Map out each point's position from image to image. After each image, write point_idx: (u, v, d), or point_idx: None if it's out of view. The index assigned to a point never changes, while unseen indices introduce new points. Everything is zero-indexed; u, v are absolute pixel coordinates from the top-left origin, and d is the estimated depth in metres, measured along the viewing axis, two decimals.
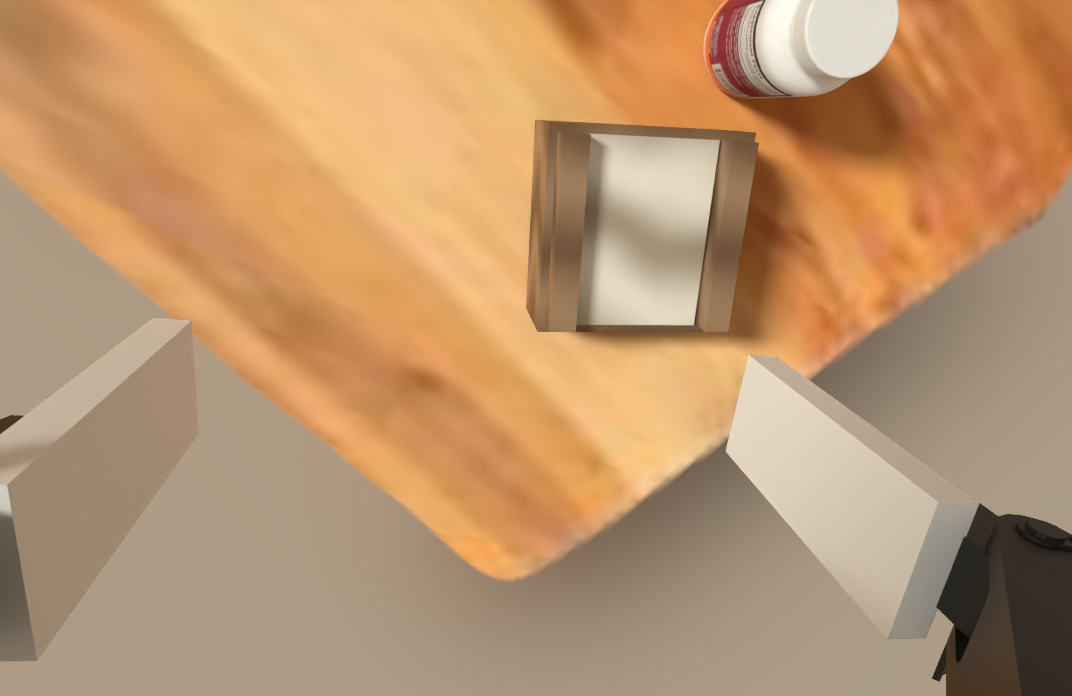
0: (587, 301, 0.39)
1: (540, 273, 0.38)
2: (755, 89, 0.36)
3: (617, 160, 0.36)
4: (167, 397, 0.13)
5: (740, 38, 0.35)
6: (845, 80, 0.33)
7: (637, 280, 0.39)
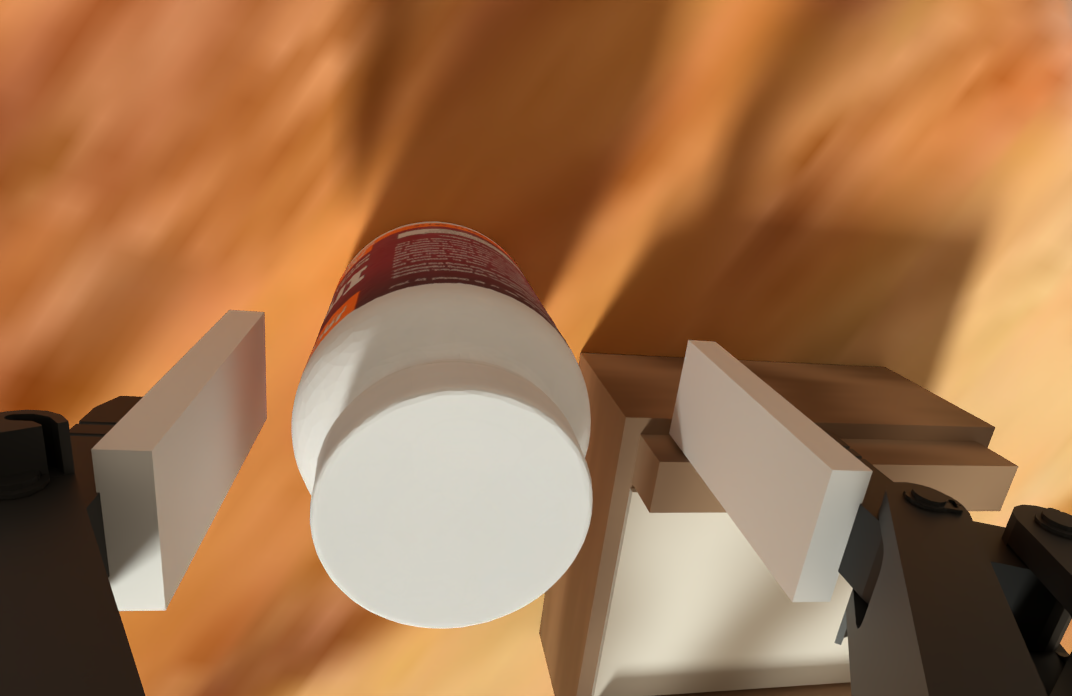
0: None
1: None
2: None
3: (642, 654, 0.20)
4: (248, 382, 0.14)
5: None
6: (567, 370, 0.13)
7: None
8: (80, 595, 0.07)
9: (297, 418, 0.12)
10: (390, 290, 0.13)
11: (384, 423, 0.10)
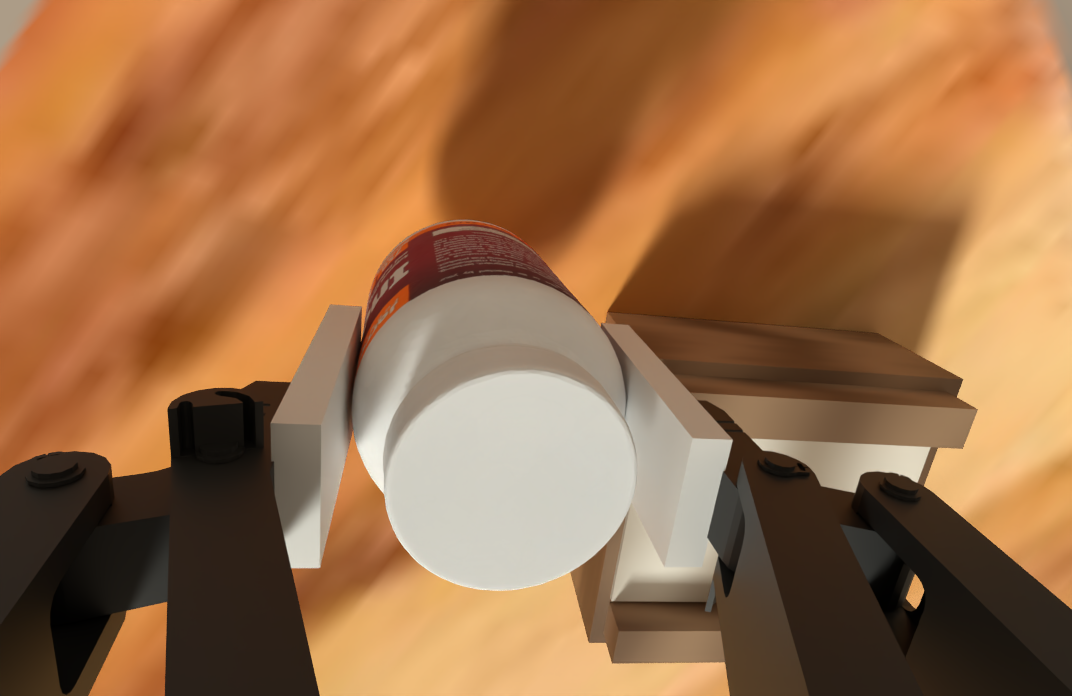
0: None
1: None
2: None
3: (653, 563, 0.24)
4: (353, 370, 0.15)
5: None
6: (606, 354, 0.14)
7: None
8: (263, 554, 0.07)
9: (359, 402, 0.13)
10: (441, 282, 0.14)
11: (453, 401, 0.11)
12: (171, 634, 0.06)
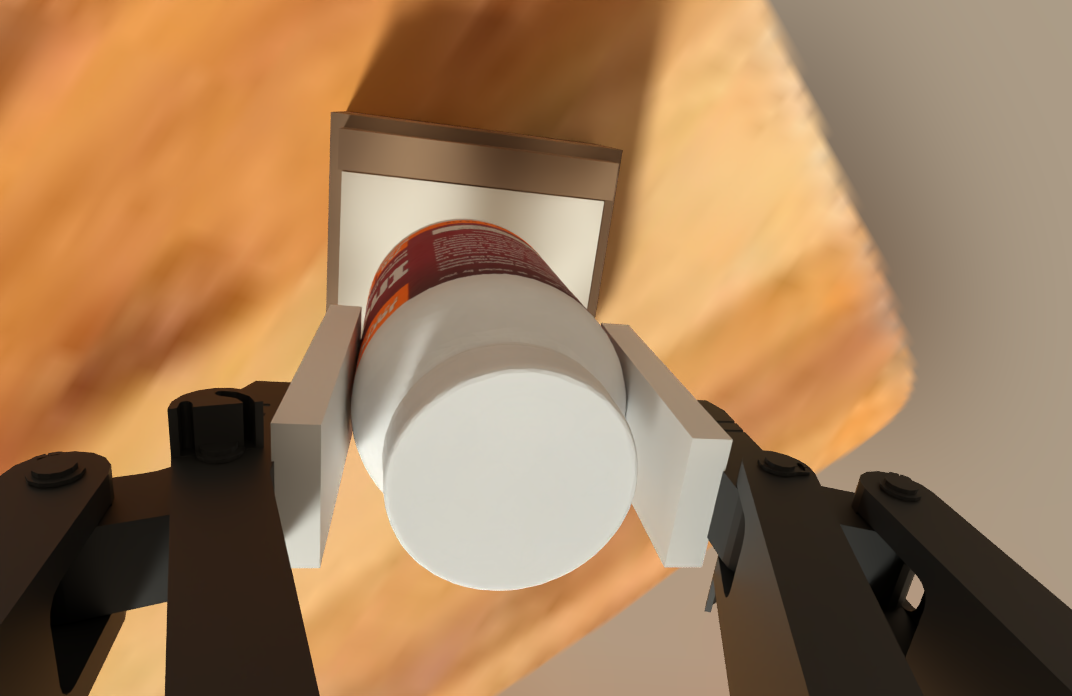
0: None
1: None
2: None
3: None
4: (353, 370, 0.15)
5: None
6: (606, 353, 0.14)
7: None
8: (263, 554, 0.07)
9: (358, 401, 0.13)
10: (441, 281, 0.14)
11: (453, 399, 0.11)
12: (171, 634, 0.06)
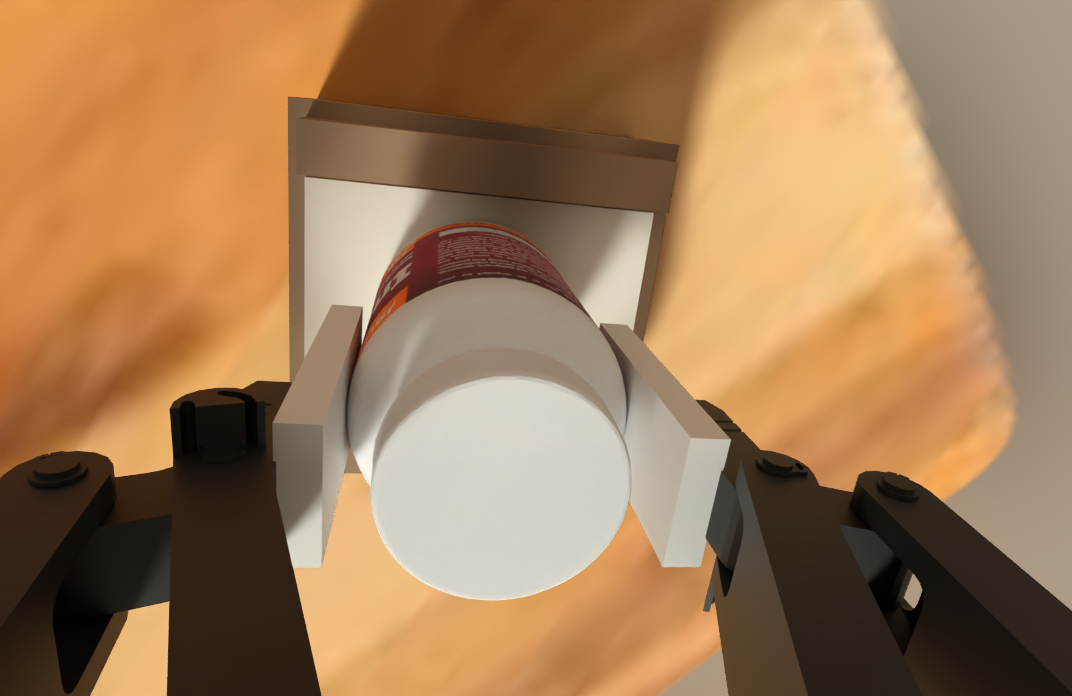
0: None
1: None
2: None
3: None
4: None
5: None
6: (605, 359, 0.14)
7: None
8: (265, 553, 0.07)
9: (353, 404, 0.13)
10: (438, 284, 0.14)
11: (440, 406, 0.11)
12: (173, 634, 0.06)
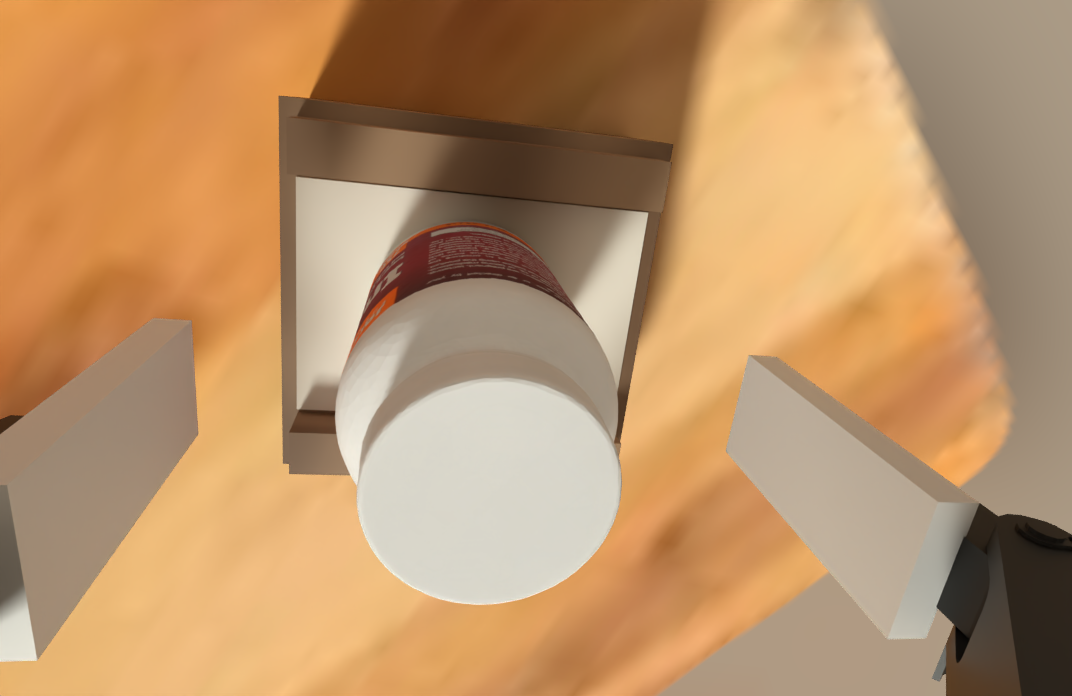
0: None
1: None
2: None
3: (339, 363, 0.21)
4: (167, 397, 0.13)
5: None
6: (596, 361, 0.13)
7: None
8: None
9: (341, 406, 0.13)
10: (428, 285, 0.13)
11: (427, 409, 0.11)
12: None
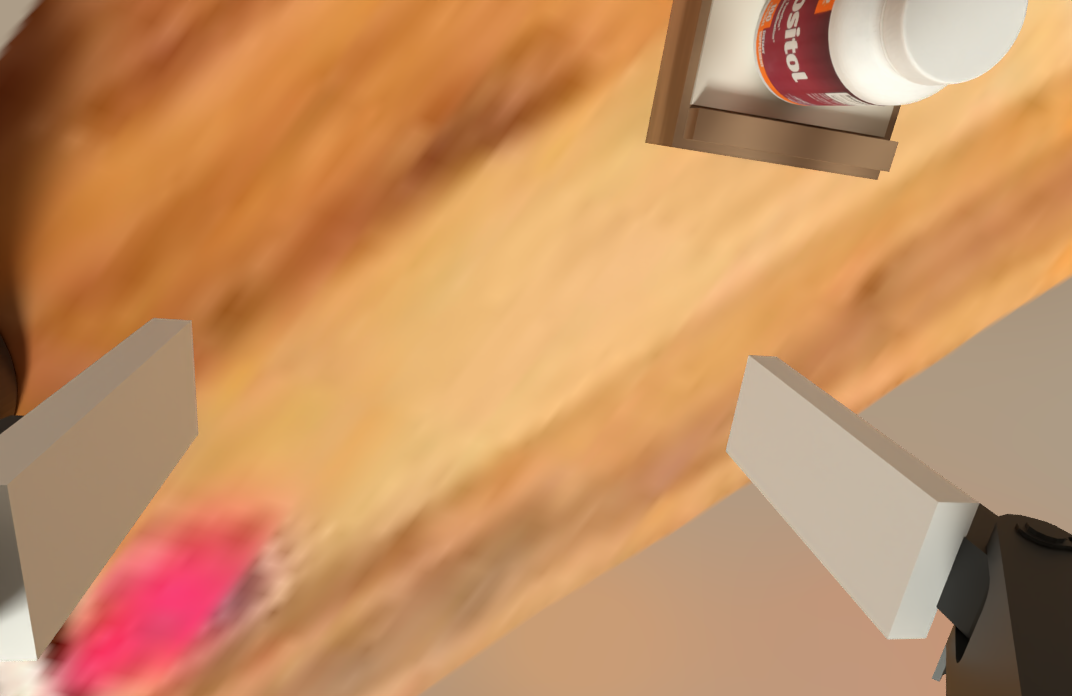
0: (863, 119, 0.35)
1: (817, 169, 0.36)
2: None
3: (724, 72, 0.33)
4: (167, 397, 0.13)
5: (859, 105, 0.29)
6: None
7: None
8: None
9: None
10: None
11: None
12: None
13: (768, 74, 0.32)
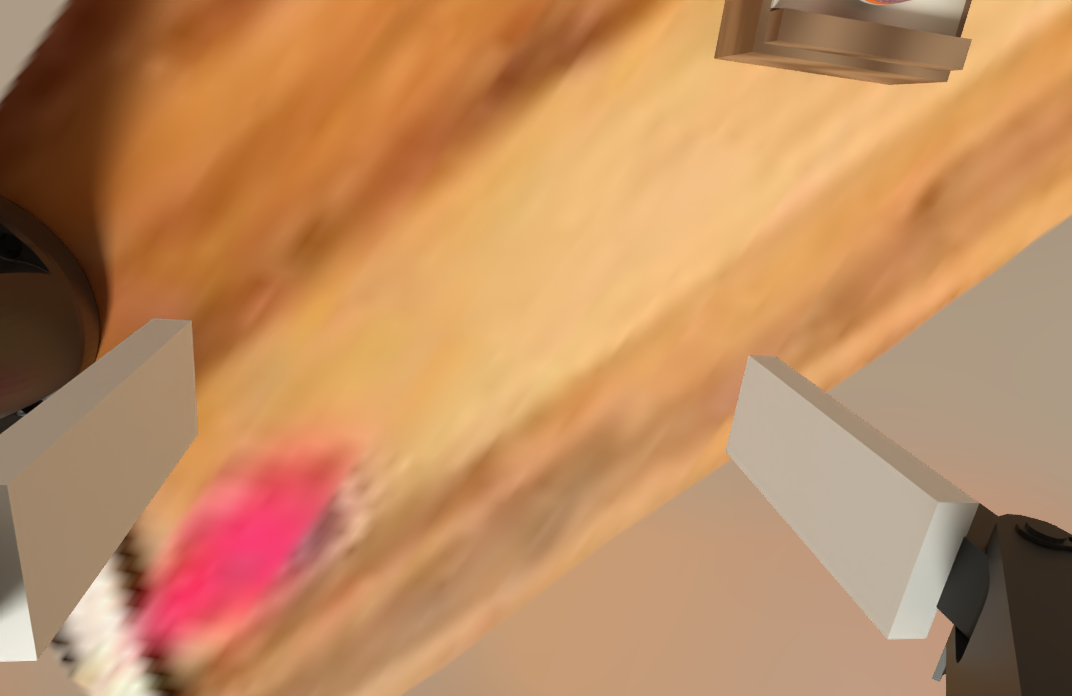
0: (935, 19, 0.35)
1: (889, 73, 0.36)
2: None
3: None
4: (167, 397, 0.13)
5: None
6: None
7: None
8: None
9: None
10: None
11: None
12: None
13: None
